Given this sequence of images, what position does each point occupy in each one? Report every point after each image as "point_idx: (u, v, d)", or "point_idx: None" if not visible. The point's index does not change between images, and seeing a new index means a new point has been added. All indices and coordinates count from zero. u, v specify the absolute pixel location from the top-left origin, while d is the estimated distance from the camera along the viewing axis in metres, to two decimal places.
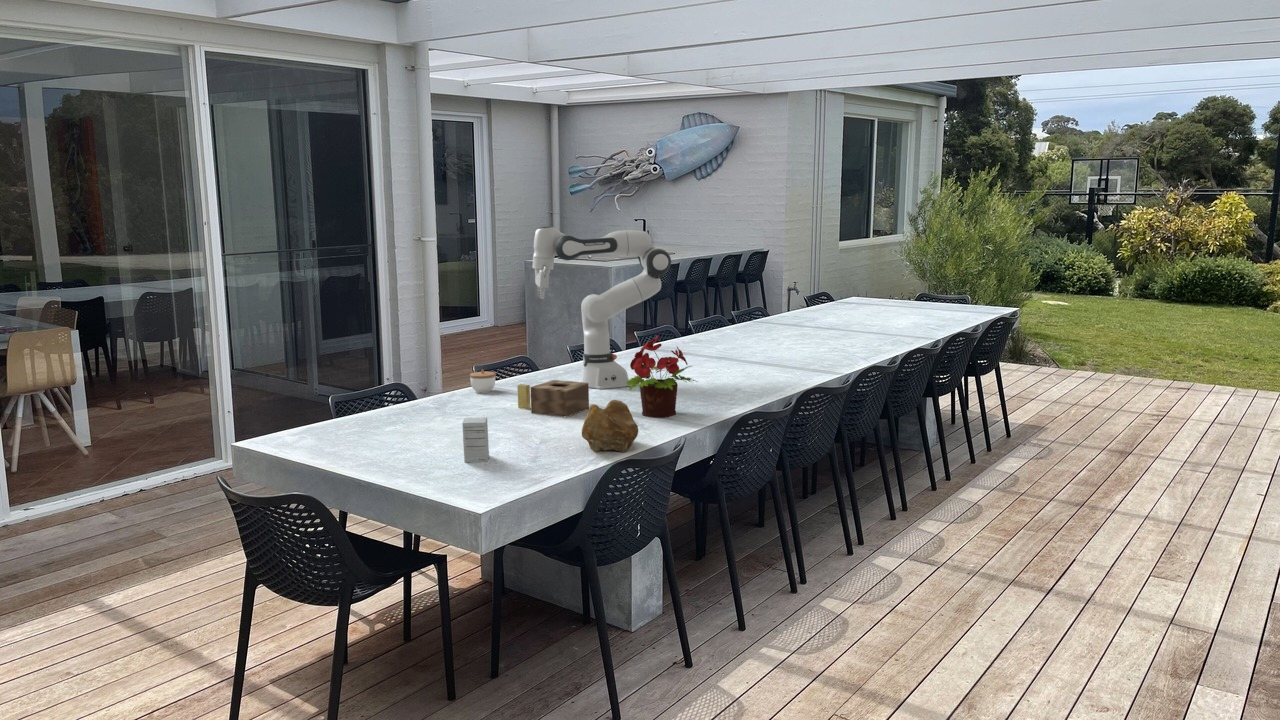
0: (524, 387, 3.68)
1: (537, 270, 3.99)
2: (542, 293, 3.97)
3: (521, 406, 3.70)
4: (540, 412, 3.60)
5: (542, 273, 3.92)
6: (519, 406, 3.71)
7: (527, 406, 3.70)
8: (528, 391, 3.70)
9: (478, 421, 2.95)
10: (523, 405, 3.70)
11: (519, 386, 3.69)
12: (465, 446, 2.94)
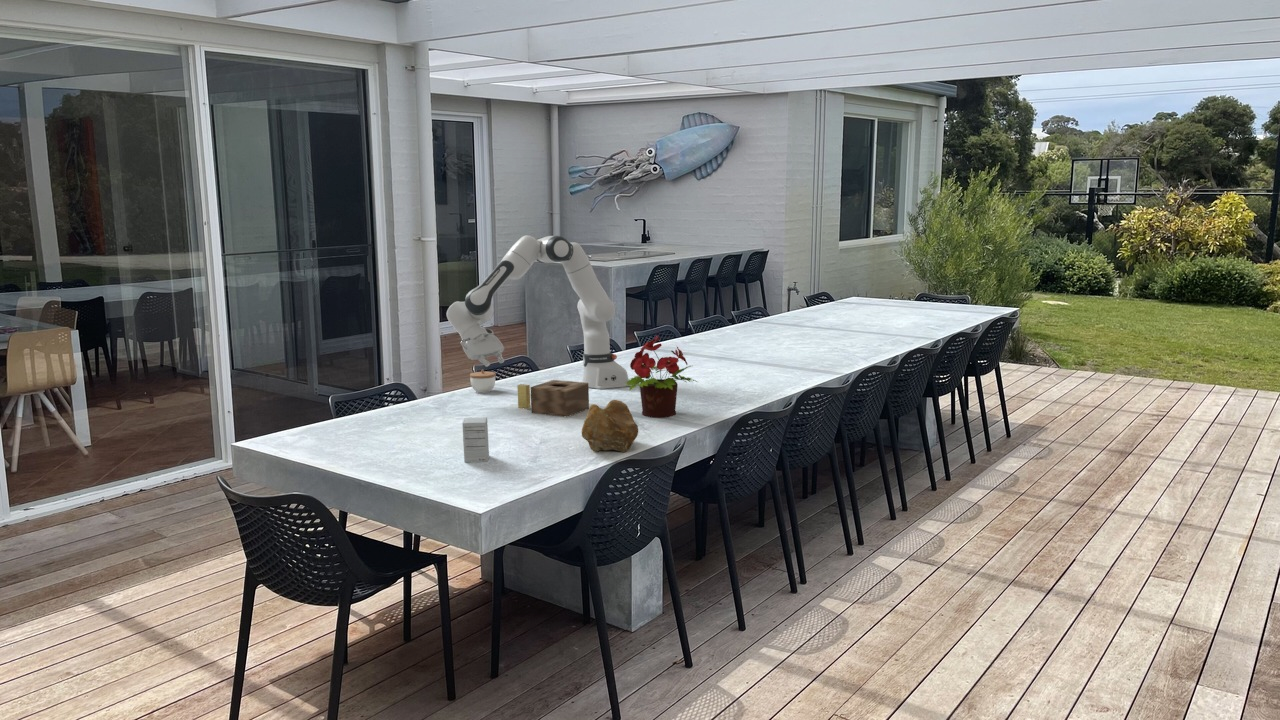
0: (524, 387, 3.68)
1: None
2: (483, 361, 3.70)
3: (521, 406, 3.70)
4: (540, 412, 3.60)
5: (463, 347, 3.69)
6: (519, 406, 3.71)
7: (527, 406, 3.70)
8: (528, 391, 3.70)
9: (478, 421, 2.95)
10: (523, 405, 3.70)
11: (519, 386, 3.69)
12: (465, 446, 2.94)
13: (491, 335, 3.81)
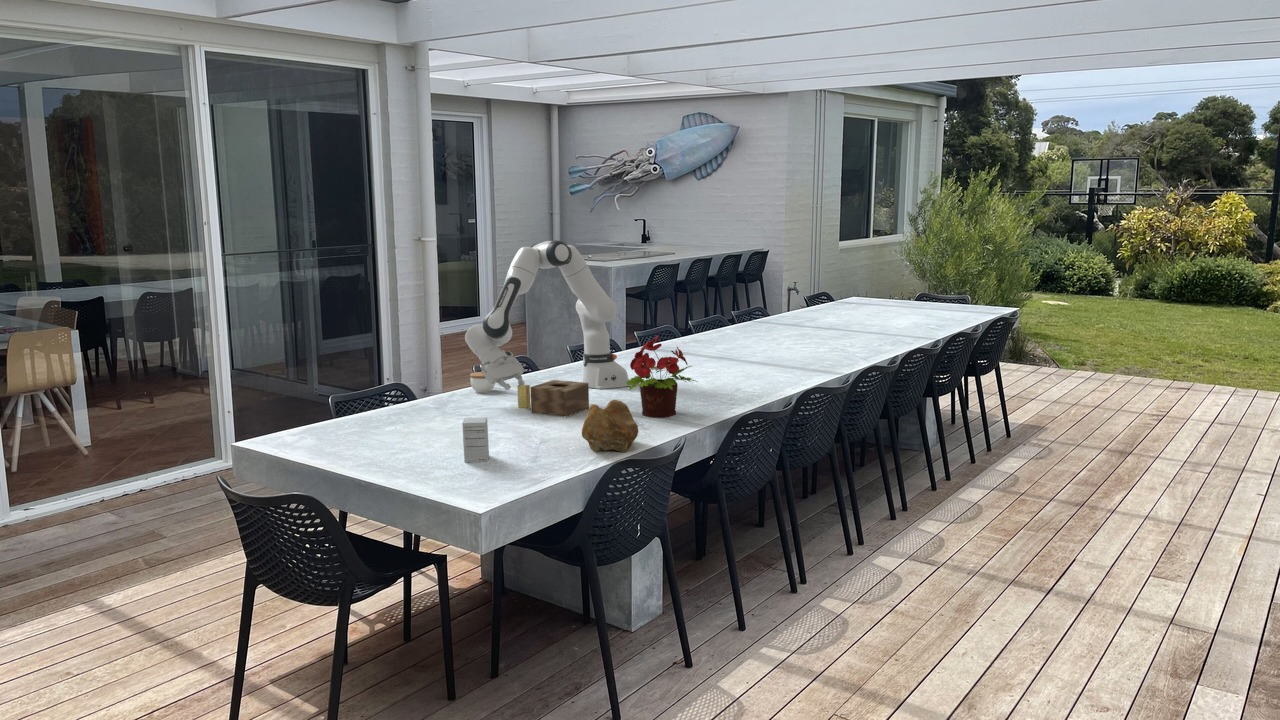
0: (524, 387, 3.68)
1: None
2: (503, 385, 3.67)
3: (521, 406, 3.70)
4: (540, 412, 3.60)
5: (483, 371, 3.66)
6: (519, 406, 3.71)
7: (527, 406, 3.70)
8: (528, 391, 3.70)
9: (478, 421, 2.95)
10: (523, 405, 3.70)
11: (519, 386, 3.69)
12: (465, 446, 2.94)
13: (510, 357, 3.78)
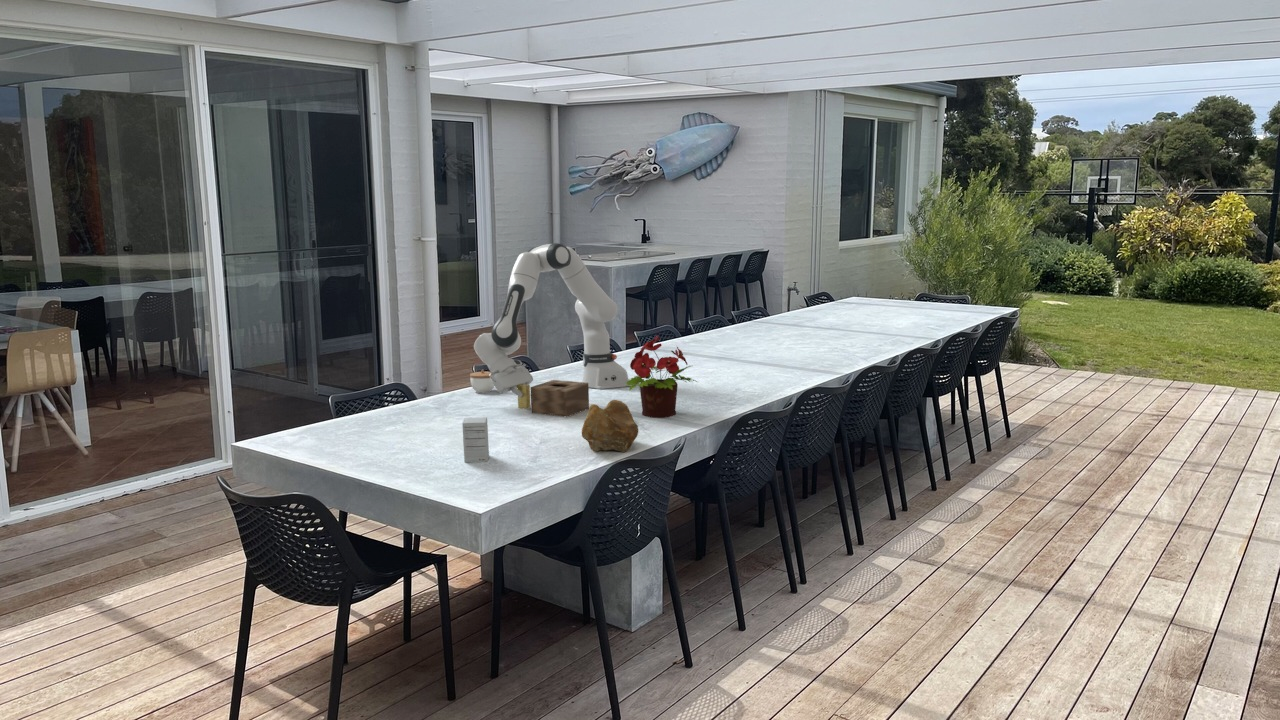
0: (524, 387, 3.68)
1: None
2: (517, 392, 3.68)
3: (521, 406, 3.70)
4: (540, 412, 3.60)
5: None
6: (519, 406, 3.71)
7: (527, 406, 3.70)
8: (528, 391, 3.70)
9: (478, 421, 2.95)
10: (523, 405, 3.70)
11: (519, 386, 3.69)
12: (465, 446, 2.94)
13: (519, 366, 3.77)
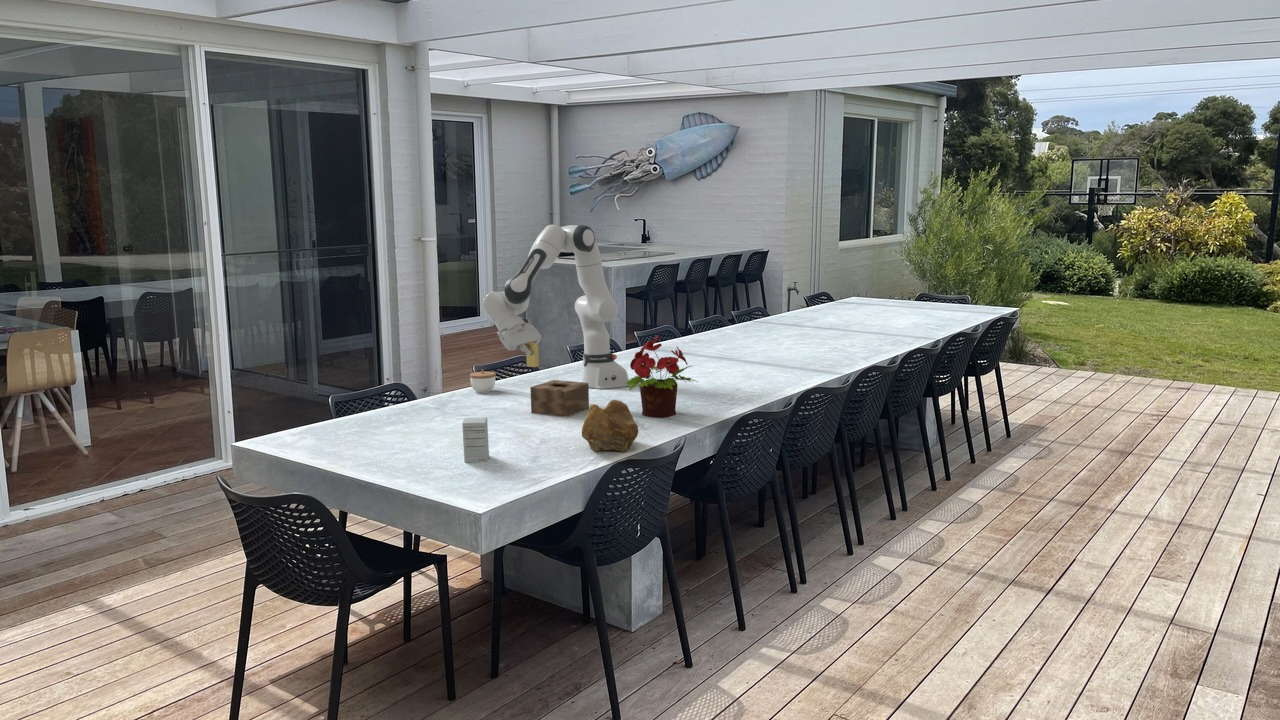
0: (532, 345, 3.64)
1: None
2: (525, 350, 3.64)
3: (529, 364, 3.66)
4: (540, 412, 3.60)
5: (500, 338, 3.60)
6: (527, 364, 3.67)
7: (535, 364, 3.65)
8: (536, 349, 3.65)
9: (478, 421, 2.95)
10: (531, 364, 3.66)
11: (527, 344, 3.65)
12: (465, 446, 2.94)
13: (528, 324, 3.72)
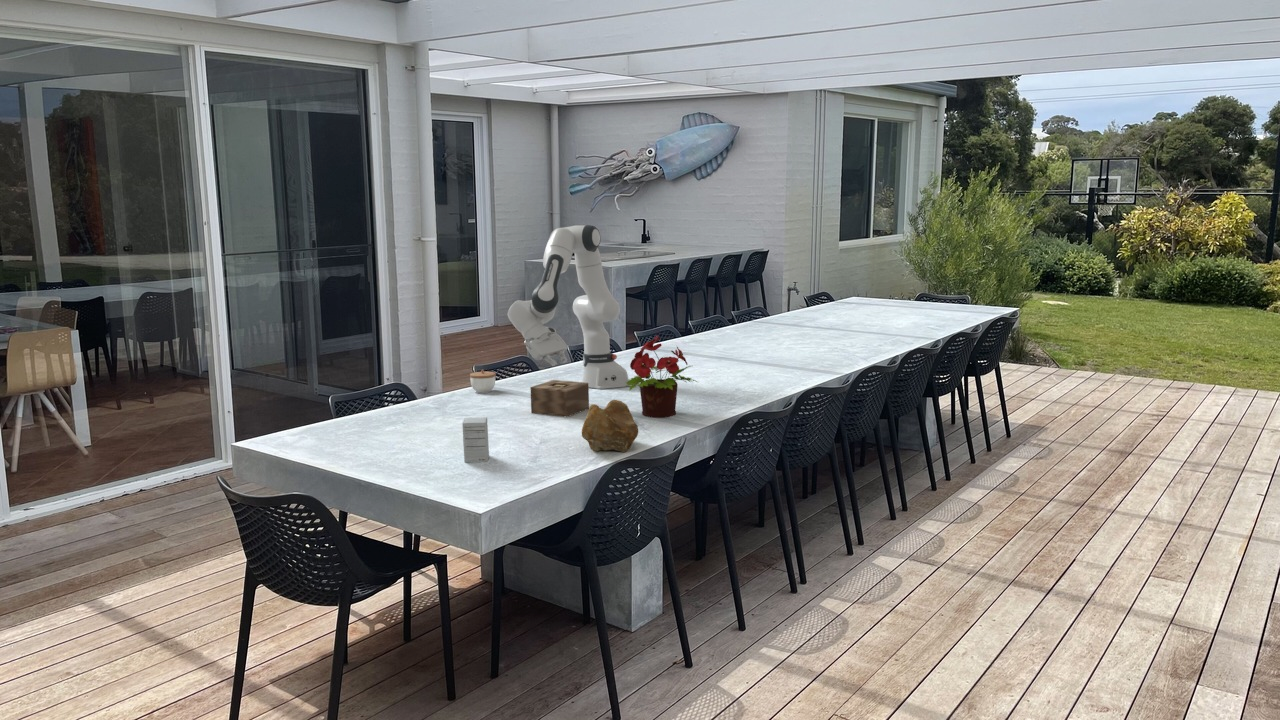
0: None
1: None
2: (549, 361, 3.58)
3: None
4: (540, 412, 3.60)
5: (527, 347, 3.56)
6: None
7: None
8: None
9: (478, 421, 2.95)
10: None
11: None
12: (465, 446, 2.94)
13: (554, 334, 3.69)
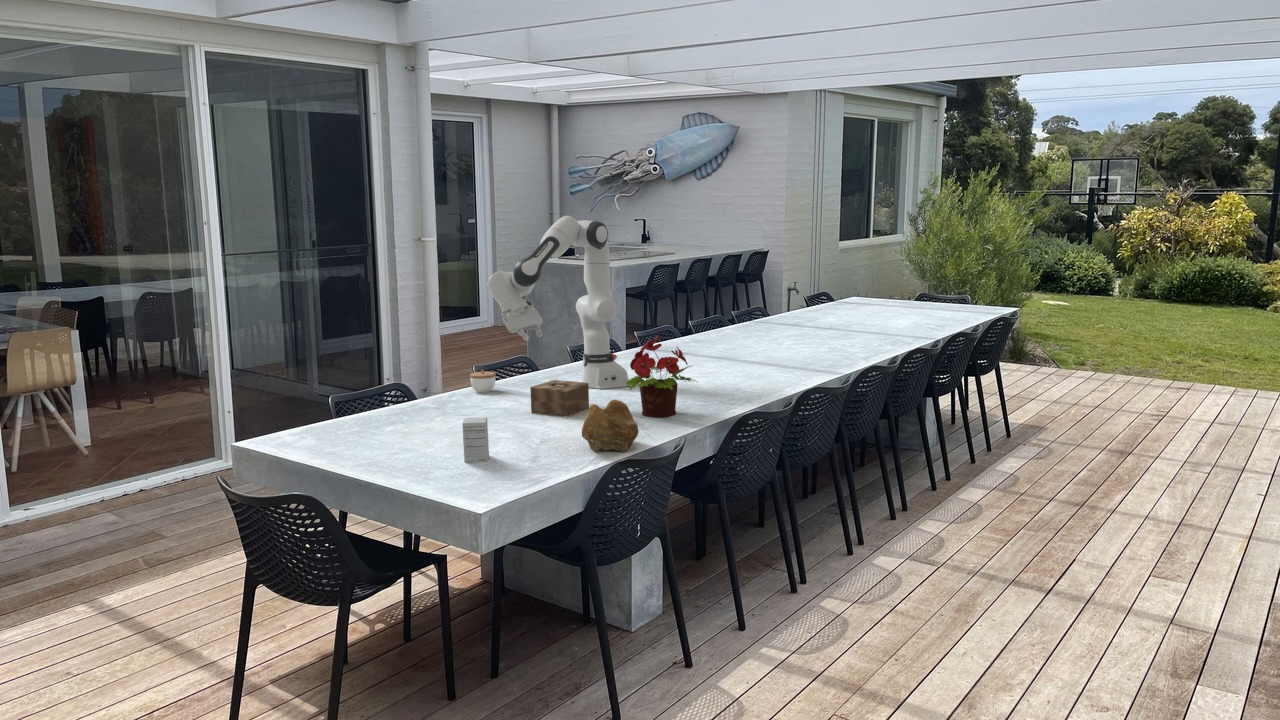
0: None
1: None
2: (522, 335, 3.63)
3: None
4: (540, 412, 3.60)
5: (503, 319, 3.62)
6: None
7: None
8: None
9: (478, 421, 2.95)
10: None
11: None
12: (465, 446, 2.94)
13: (531, 307, 3.74)
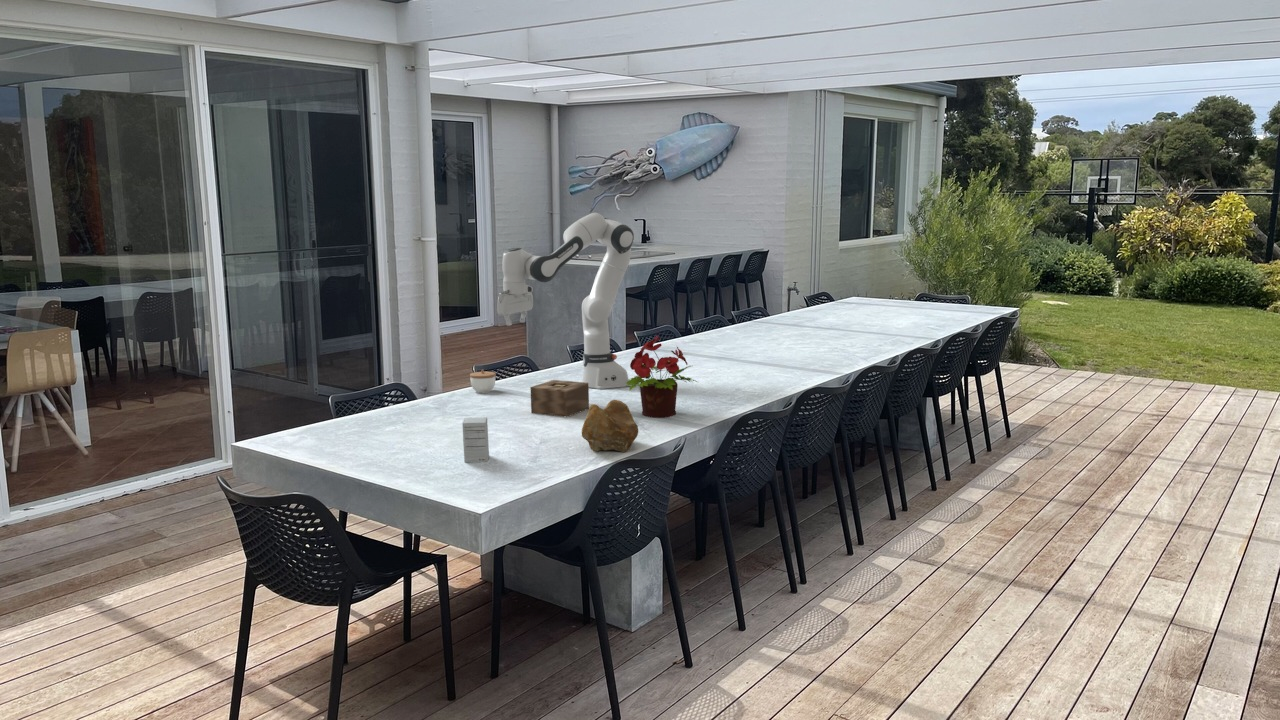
0: None
1: None
2: (507, 320, 3.75)
3: None
4: (540, 412, 3.60)
5: (499, 299, 3.71)
6: None
7: None
8: None
9: (478, 421, 2.95)
10: None
11: None
12: (465, 446, 2.94)
13: (529, 293, 3.83)
